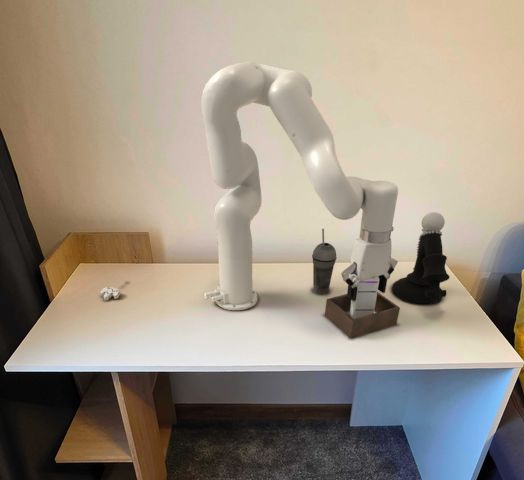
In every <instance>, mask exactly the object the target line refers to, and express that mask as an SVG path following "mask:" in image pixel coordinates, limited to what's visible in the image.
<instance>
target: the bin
mask: <svg viewBox="0 0 524 480" xmlns="http://www.w3.org/2000/svg"><path fill="white" fill-rule="evenodd" d="M350 306H351V299H350V298H348V297H347V293H345V294H341V295H337V296H333V297H329V298H326V300H325V308H324V317H326V318H327V319H328V320H329V321H330V322H331V323H332V324H334V326H336V327H337V328H338V329H339V330H340V331H341V332H342V333H343V334H345V335H346V336H347V337H348V338H349V339H353V338H356V337H360V336H363V335H367V334H370V333H372V332H373V333H374V332H377V331H380V330H383V329H386V328H391V327H394V326H397V324H398V319H399V315H400V310H401V307H400V306H398V305H397V304H395V303H394V302H393V301H391V300H390V299H388V298H387V297H386V296H385V295H383V294H381V293H380V291H377V298H376V304H375V310H374V314H370V315H366V316H363V317H359V318H356V319H353V318H352V317H351V316H350V315H349V313H347V312H350Z"/></svg>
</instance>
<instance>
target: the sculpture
mask: <svg viewBox="0 0 524 480" xmlns="http://www.w3.org/2000/svg"><path fill="white" fill-rule="evenodd" d="M445 223H446V221H445V218H444V216H443V215H442V214H441V213H439V212H436V211H432V212H429V213H426V214H425V215H424V216H423V217H422V219H421V223H420V224H421V232H422V233H421V234H419V237H418V241H417V247H416V248H417V249H416V251H417V252H416V259H415V264H414V267H413V268H412V270H413V271H412V272H409V273H408V274H407V275H406V276H404V277H402V278H399V279H398V280H396V281H394V282H393V283H392V286H391V293H392V294H393V296H394V297H396V298H397V299H399V300H401V301H403V302H404V303H408V304H411V305H418V306H431V305H435V304H439V303H441V302H442V299H443V298H445V297H446V296H447V290H446V289H442V288H441V283H444V282H446V281H449V280H450V278H451V276H450V275H449V273H448V272H447V270H446V263H447V260H448V257H447V256H446V254H443V252H444V251H443V242H442V236H443V232H442V229H443V228H444V226H445Z"/></svg>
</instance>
